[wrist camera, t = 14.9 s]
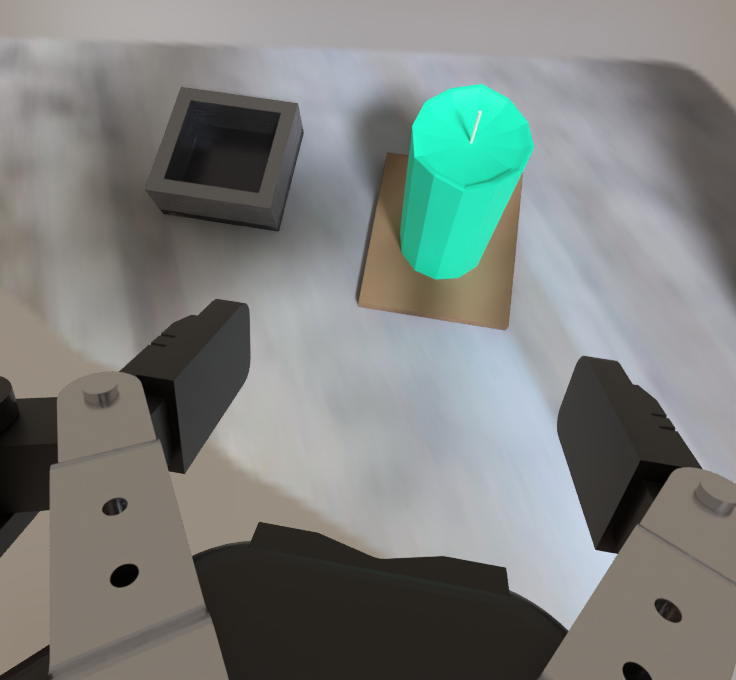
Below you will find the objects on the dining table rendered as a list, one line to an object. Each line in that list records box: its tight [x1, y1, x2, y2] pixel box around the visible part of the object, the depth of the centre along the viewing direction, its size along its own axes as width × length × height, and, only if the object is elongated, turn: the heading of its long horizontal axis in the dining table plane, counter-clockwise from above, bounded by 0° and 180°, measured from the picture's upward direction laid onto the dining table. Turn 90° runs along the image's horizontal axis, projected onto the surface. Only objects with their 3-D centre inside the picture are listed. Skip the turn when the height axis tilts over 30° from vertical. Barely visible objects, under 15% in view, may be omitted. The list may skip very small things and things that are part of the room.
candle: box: [400, 84, 534, 279], centre depth 28 cm, size 6×6×12 cm
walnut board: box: [358, 153, 523, 330], centre depth 34 cm, size 10×12×1 cm
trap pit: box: [145, 87, 303, 231], centre depth 35 cm, size 9×9×3 cm
